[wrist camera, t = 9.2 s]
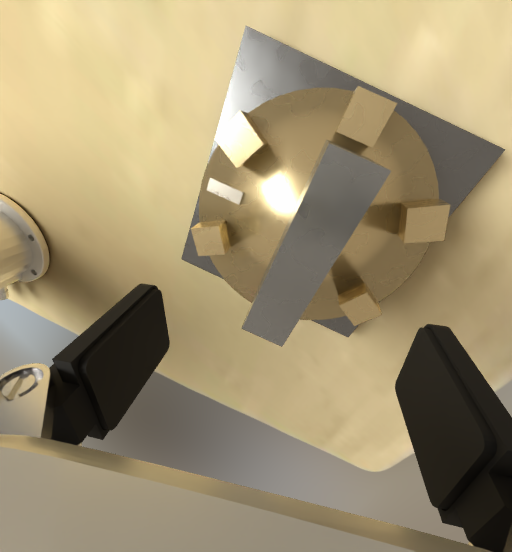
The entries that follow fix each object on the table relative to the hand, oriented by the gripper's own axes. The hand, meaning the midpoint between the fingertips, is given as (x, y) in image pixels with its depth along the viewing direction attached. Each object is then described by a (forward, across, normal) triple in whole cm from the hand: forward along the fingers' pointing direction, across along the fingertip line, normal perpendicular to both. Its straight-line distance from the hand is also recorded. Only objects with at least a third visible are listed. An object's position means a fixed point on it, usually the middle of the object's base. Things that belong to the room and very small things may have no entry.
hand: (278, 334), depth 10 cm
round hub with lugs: (+16, -1, 0) cm, 16 cm away
